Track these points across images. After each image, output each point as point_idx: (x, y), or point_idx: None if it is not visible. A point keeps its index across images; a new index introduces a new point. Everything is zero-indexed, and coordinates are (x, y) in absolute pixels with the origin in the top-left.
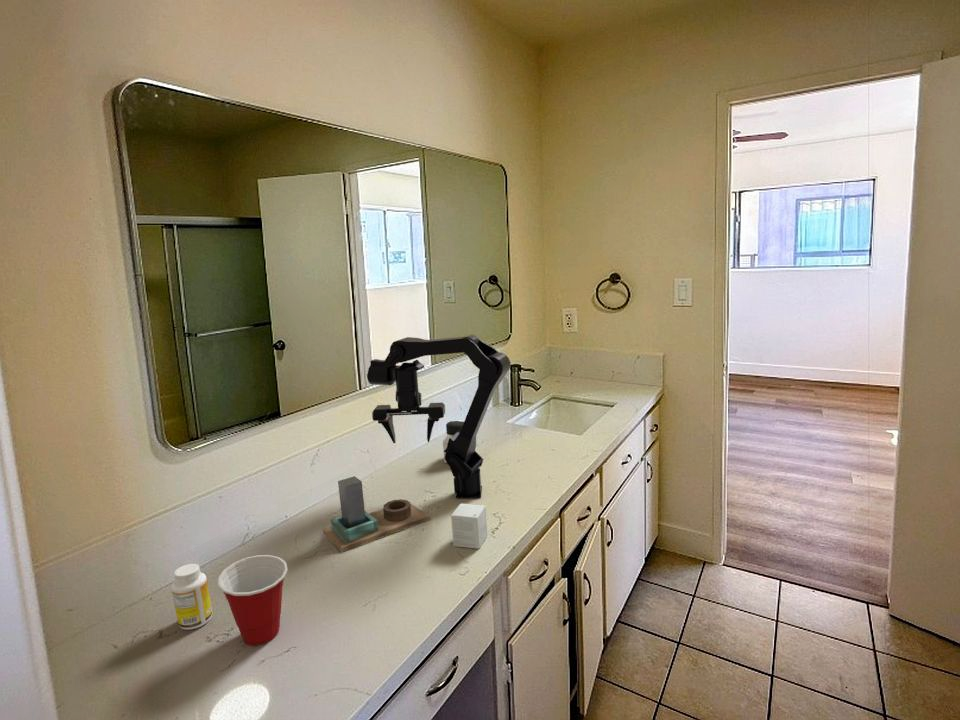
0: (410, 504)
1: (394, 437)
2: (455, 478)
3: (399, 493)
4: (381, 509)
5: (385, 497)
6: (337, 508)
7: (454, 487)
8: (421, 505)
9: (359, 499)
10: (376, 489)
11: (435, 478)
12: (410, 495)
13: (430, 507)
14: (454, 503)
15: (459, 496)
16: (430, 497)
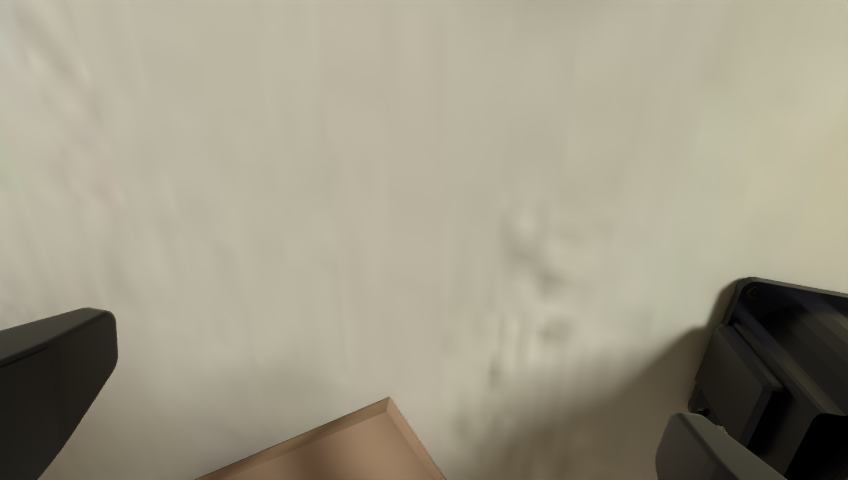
0: (409, 456)
1: (47, 425)
2: (753, 453)
3: (332, 239)
4: (254, 467)
5: (248, 274)
6: None
7: (711, 406)
8: (471, 425)
9: None
10: (161, 132)
11: (610, 31)
12: (406, 287)
13: (519, 458)
14: None
15: (712, 418)
16: (532, 346)
